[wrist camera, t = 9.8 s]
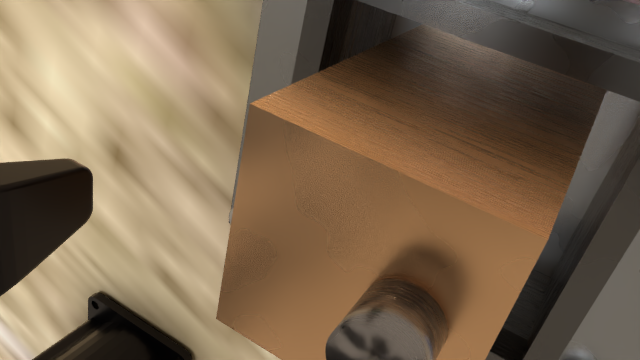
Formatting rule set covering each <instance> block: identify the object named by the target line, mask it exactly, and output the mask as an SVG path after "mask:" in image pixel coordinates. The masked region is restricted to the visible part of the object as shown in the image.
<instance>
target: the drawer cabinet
mask: <svg viewBox="0 0 640 360" xmlns="http://www.w3.org/2000/svg"><path fill="white" fill-rule="evenodd" d="M422 24H424V25H427V26H430V27H432V28H435V29H438V30H441V31H444V32H446V33H449V34H452V35H455V36H458V37H460V38H463V39H466V40H469V41H471V42H474V43H477V44H480V45H483V46H485V47H488V48H491V49H494V50H497V51H499V52H502V53H505V54H508V55H510V56H513V57H516V58H519V59H522V60H524V61H527V62H530V63H533V64H536V65H538V66H541V67H544V68H547V69H549V70H552V71H555V72H558V73H561V74H563V75H566V76H569V77H572V78H575V79H577V80H580V81H583V82H586V83H588V84H591V85H594V86H597V87H600V88H602V89H605V90H607V91H606V93H605V96H604V99H603V101H602V104H601V106H600V109H599V111H598V114H597V116H596V119H595V121H594V124H593V127H592V129H591V132H590V134H589V137H588V139H587V142H586V144H585V147H584V149H583V152H582V155H581V157H580V160H579V162H578V165H577V167H576V170H575V172H574V175H573V177H572V180H571V183H570V185H569V188H568V190H567V193H566V195H565V198H564V200H563V203H562V205H561V208H560V211H559V213H558V216H557V218H556V221H555V223H554V226H553V228H552V231H551V233H550V236H549V239H548V241H547V243H546V245H545V247H544V248H543V250H542V252H541V254H540V256H539V258H538V260H537V262H536V264H535V266H534V267H533V269H532V271H531V273H530V275H529V277H528V279H527V281H526V283H525V285H524V287H523V288H522V290H521V292H520V294H519V296H518V298H517V300H516V302H515V304H514V306H513V308H512V309H511V311H510V313H509V315H508V317H507V319H506V321H505V323H504V325H503V327H502V329H501V330H500V332H499V334H498V336H497V338H496V340H495V342H494V344H493V346H492V348H491V349H490V351H489V353H488V355H487V357H486V359H485V360H640V0H263V5H262V12H261V18H260V25H259V31H258V37H257V44H256V50H255V57H254V63H253V70H252V76H251V83H250V89H249V96H248V102H247V109H246V115H245V122H244V128H243V135H242V141H241V147H240V154H239V160H238V167H237V173H236V180H235V186H234V193H233V199H232V206H231V211H230V213H229V223H230V225H231V221H232V215H233V208H234V202H235V195H236V189H237V183H238V176H239V170H240V163H241V157H242V151H243V144H244V138H245V131H246V125H247V119H248V112H249V106H250V103H252V102H254V101H256V100H259V99H261V98H263V97H265V96H267V95H269V94H272V93H274V92H276V91H278V90H280V89H283V88H285V87H287V86H289V85H291V84H293V83H296V82H298V81H300V80H302V79H304V78H307V77H309V76H311V75H313V74H315V73H317V72H320V71H322V70H324V69H326V68H328V67H331V66H333V65H335V64H337V63H339V62H341V61H344V60H346V59H348V58H350V57H352V56H355V55H357V54H359V53H361V52H363V51H365V50H368V49H370V48H372V47H374V46H376V45H379V44H381V43H383V42H385V41H387V40H389V39H392V38H394V37H396V36H398V35H400V34H403V33H405V32H407V31H409V30H411V29H413V28H416V27H418V26H420V25H422Z"/></svg>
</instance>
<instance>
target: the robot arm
mask: <svg viewBox="0 0 640 360" xmlns="http://www.w3.org/2000/svg"><path fill="white" fill-rule="evenodd" d="M92 211H93V176H92V173H91V171H90V170H89V169H88V168H87V167H85V166H84V165H82V164H80V163H78V162H77V161H75V160H72V159H52V160H37V161H22V162H6V163H0V296H1V295H3V294H4V293H5V292H7V291H8V290H9V289H11V288H12V287H13V286H14V285H16V284H17V283H18V282H19V281H21V280H22V279H23V278H24V277H25V276H27V275H28V274H29V273H30V272H31V271H32V270H33V269H34V268H36V267H37V266H38V265H39V264H40V263H41V262H42V261H43V260H45V259H46V258H47V257H48V256H49V255H50V254H51V253H52V252H54V251H55V250H56V249H57V248H58V247H59V246H60V245H61V244H63V243H64V242H65V241H66V240H67V239H68V238H69V237H70V236H72V235H73V234H74V233H75V232H76V231H77V230H78V229H79V228H81V227H82V226H83V225H84V224H85V223H86V222H87V221H88V219H89V218H90V216H91V214H92ZM32 360H192V358H191V355H190V354H189V352H188V351H186V350H185V349H184V348H182V347H181V346H179V345H178V344H176V343H175V342H173V341H172V340H170V339H169V338H167V337H166V336H164V335H163V334H161V333H160V332H158V331H157V330H155V329H154V328H152V327H151V326H149V325H148V324H146V323H145V322H143V321H142V320H140V319H139V318H137V317H136V316H134V315H133V314H131V313H130V312H128V311H127V310H125V309H124V308H122V307H121V306H119V305H118V304H116V303H115V302H113V301H112V300H110V299H109V298H107V297H105V296H104V295H102V294H101V293H95V294H94V295H92V296H91V297H89V299H88V321H87V322H85V323H84V324H82V325H81V326H79V327H78V328H77V329H75V330H74V331H72V332H71V333H69V334H68V335H67V336H65V337H64V338H62V339H61V340H59V341H58V342H57V343H55V344H54V345H52V346H51V347H49V348H48V349H47V350H45V351H44V352H42V353H41V354H39V355H38V356H37V357H35V358H34V359H32Z"/></svg>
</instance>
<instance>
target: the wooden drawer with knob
mask: <svg viewBox="0 0 640 360" xmlns="http://www.w3.org/2000/svg"><path fill="white" fill-rule="evenodd" d="M606 91H607V90H605V89H602V88H600V87H597V86H594V85H591V84H588V83H586V82H583V81H580V80H577V79H575V78H572V77H569V76H566V75H563V74H561V73H558V72H555V71H552V70H549V69H547V68H544V67H541V66H538V65H536V64H533V63H530V62H527V61H524V60H522V59H519V58H516V57H513V56H510V55H508V54H505V53H502V52H499V51H497V50H494V49H491V48H488V47H485V46H483V45H480V44H477V43H474V42H471V41H469V40H466V39H463V38H460V37H458V36H455V35H452V34H449V33H446V32H444V31H441V30H438V29H435V28H432V27H430V26H427V25H424V24H422V25H420V26H418V27H416V28H413V29H411V30H409V31H407V32H405V33H403V34H400V35H398V36H396V37H394V38H392V39H389V40H387V41H385V42H383V43H381V44H379V45H376V46H374V47H372V48H370V49H368V50H365V51H363V52H361V53H359V54H357V55H355V56H352V57H350V58H348V59H346V60H344V61H341V62H339V63H337V64H335V65H333V66H331V67H328V68H326V69H324V70H322V71H320V72H317V73H315V74H313V75H311V76H309V77H307V78H304V79H302V80H300V81H298V82H296V83H293V84H291V85H289V86H287V87H285V88H283V89H280V90H278V91H276V92H274V93H272V94H269V95H267V96H265V97H263V98H261V99H259V100H256V101H254V102H252V103H250V106H249V112H248V119H247V125H246V131H245V138H244V144H243V151H242V157H241V163H240V170H239V176H238V183H237V189H236V195H235V202H234V208H233V215H232V221H231V227H230V234H229V240H228V247H227V253H226V259H225V266H224V272H223V279H222V285H221V291H220V298H219V304H218V311H217V317H216V319H218V320H219V321H221V322H222V323H224V324H226V325H227V326H229V327H230V328H232V329H234V330H235V331H237V332H238V333H240V334H242V335H243V336H245V337H246V338H248V339H250V340H251V341H253V342H254V343H256V344H258V345H259V346H261V347H262V348H264V349H266V350H267V351H269V352H270V353H272V354H274V355H275V356H277V357H278V358H280V359H282V360H485V359H486V357H487V355H488V353H489V351H490V349H491V348H492V346H493V344H494V342H495V340H496V338H497V336H498V334H499V332H500V330H501V329H502V327H503V325H504V323H505V321H506V319H507V317H508V315H509V313H510V311H511V309H512V308H513V306H514V304H515V302H516V300H517V298H518V296H519V294H520V292H521V290H522V288H523V287H524V285H525V283H526V281H527V279H528V277H529V275H530V273H531V271H532V269H533V267H534V266H535V264H536V262H537V260H538V258H539V256H540V254H541V252H542V250H543V248H544V247H545V245H546V243H547V241H548V239H549V236H550V233H551V231H552V228H553V226H554V223H555V221H556V218H557V216H558V213H559V211H560V208H561V205H562V203H563V200H564V198H565V195H566V193H567V190H568V188H569V185H570V183H571V180H572V177H573V175H574V172H575V170H576V167H577V165H578V162H579V160H580V157H581V155H582V152H583V149H584V147H585V144H586V142H587V139H588V137H589V134H590V132H591V129H592V127H593V124H594V121H595V119H596V116H597V114H598V111H599V109H600V106H601V104H602V101H603V99H604V96H605V93H606Z"/></svg>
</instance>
